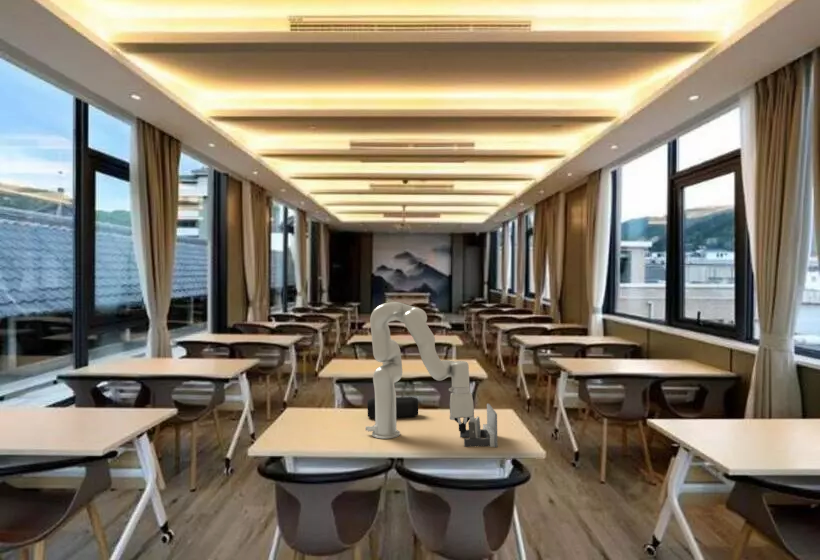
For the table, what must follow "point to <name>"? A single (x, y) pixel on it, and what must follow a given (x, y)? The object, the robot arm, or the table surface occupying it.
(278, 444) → the table surface
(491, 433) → the rail mount
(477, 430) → the electrical switch
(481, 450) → the table surface
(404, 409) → the portable speaker
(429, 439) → the table surface
